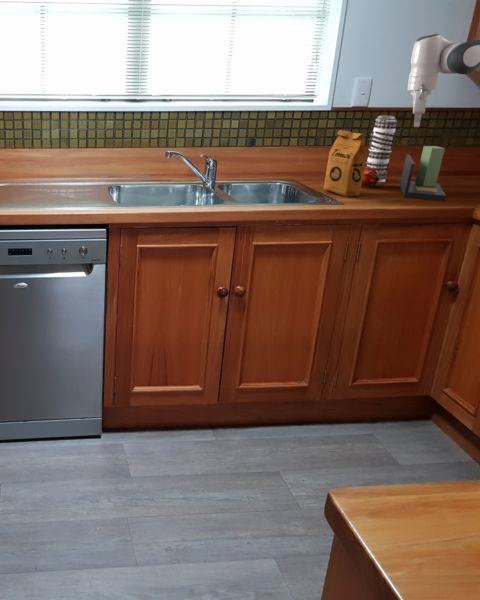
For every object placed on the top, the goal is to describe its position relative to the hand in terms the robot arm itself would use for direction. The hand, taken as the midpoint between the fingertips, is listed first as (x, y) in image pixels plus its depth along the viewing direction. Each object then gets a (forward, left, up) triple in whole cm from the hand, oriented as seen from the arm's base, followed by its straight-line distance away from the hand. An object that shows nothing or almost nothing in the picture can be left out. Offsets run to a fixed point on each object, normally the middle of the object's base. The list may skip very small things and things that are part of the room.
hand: (416, 125), depth 217 cm
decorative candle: (+9, -20, -24) cm, 32 cm away
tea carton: (-8, -8, -22) cm, 25 cm away
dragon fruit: (+13, -5, -24) cm, 28 cm away
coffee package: (+21, +13, -24) cm, 34 cm away
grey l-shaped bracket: (-7, -2, -24) cm, 25 cm away
